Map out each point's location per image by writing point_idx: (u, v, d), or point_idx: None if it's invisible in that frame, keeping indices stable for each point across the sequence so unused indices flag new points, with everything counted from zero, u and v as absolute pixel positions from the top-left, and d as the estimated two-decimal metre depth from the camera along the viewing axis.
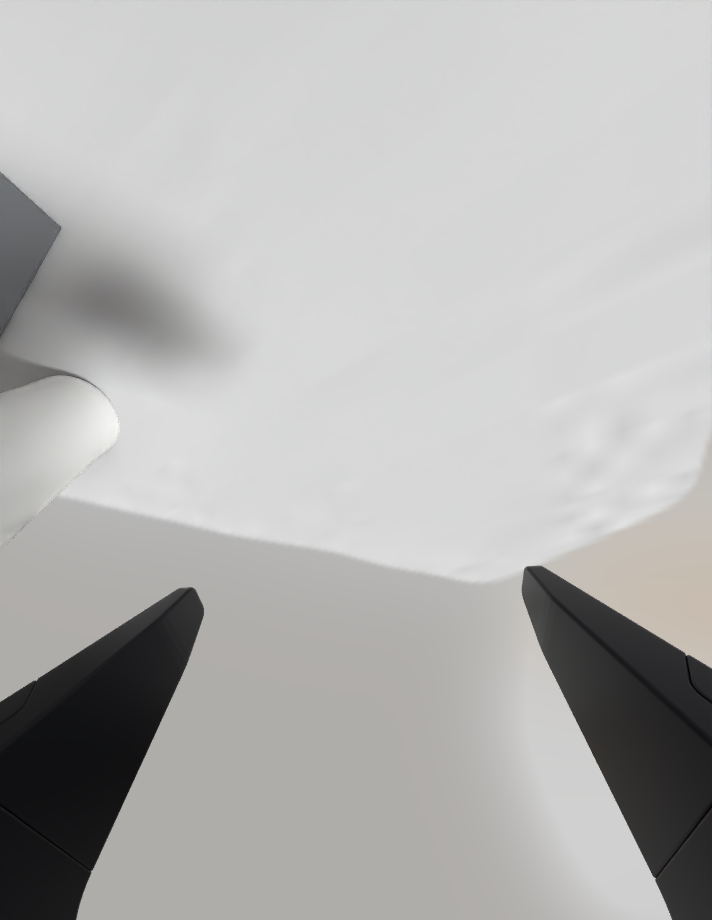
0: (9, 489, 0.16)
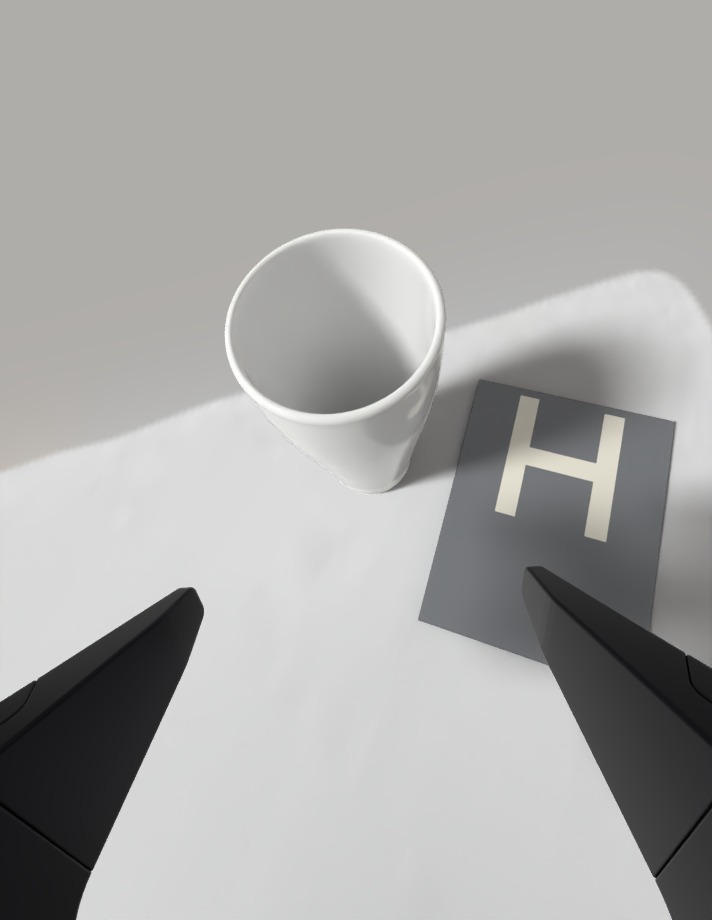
0: None
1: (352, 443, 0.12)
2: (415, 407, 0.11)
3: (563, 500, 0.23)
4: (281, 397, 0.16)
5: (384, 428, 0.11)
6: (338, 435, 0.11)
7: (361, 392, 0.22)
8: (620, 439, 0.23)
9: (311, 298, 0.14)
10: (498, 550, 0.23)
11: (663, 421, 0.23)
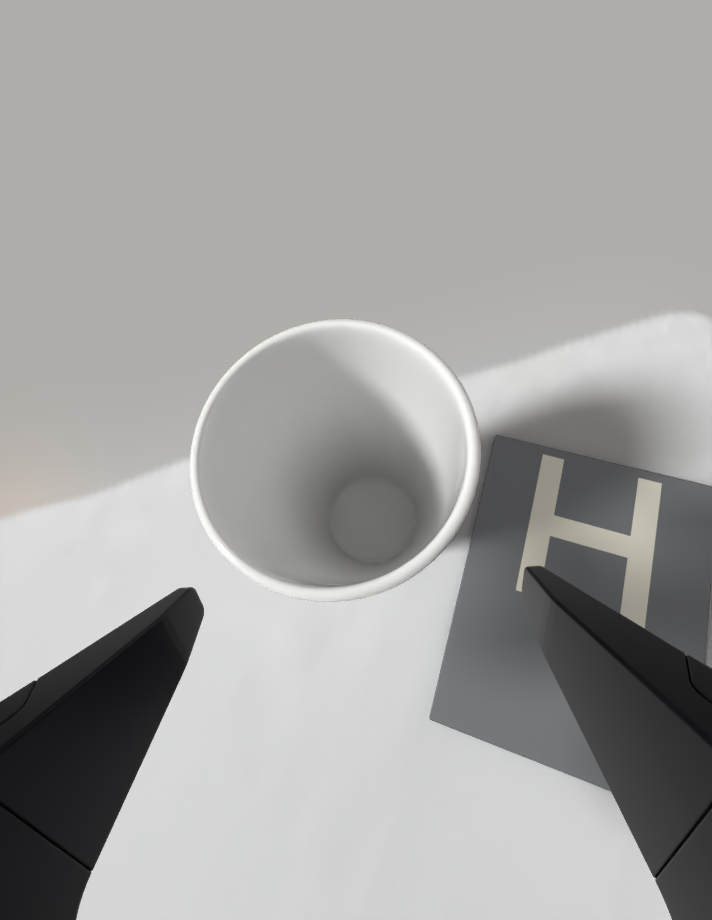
0: None
1: None
2: None
3: (594, 579, 0.20)
4: (270, 494, 0.13)
5: (398, 585, 0.09)
6: None
7: (364, 460, 0.19)
8: (657, 508, 0.21)
9: (305, 386, 0.12)
10: (520, 637, 0.20)
11: (705, 488, 0.21)
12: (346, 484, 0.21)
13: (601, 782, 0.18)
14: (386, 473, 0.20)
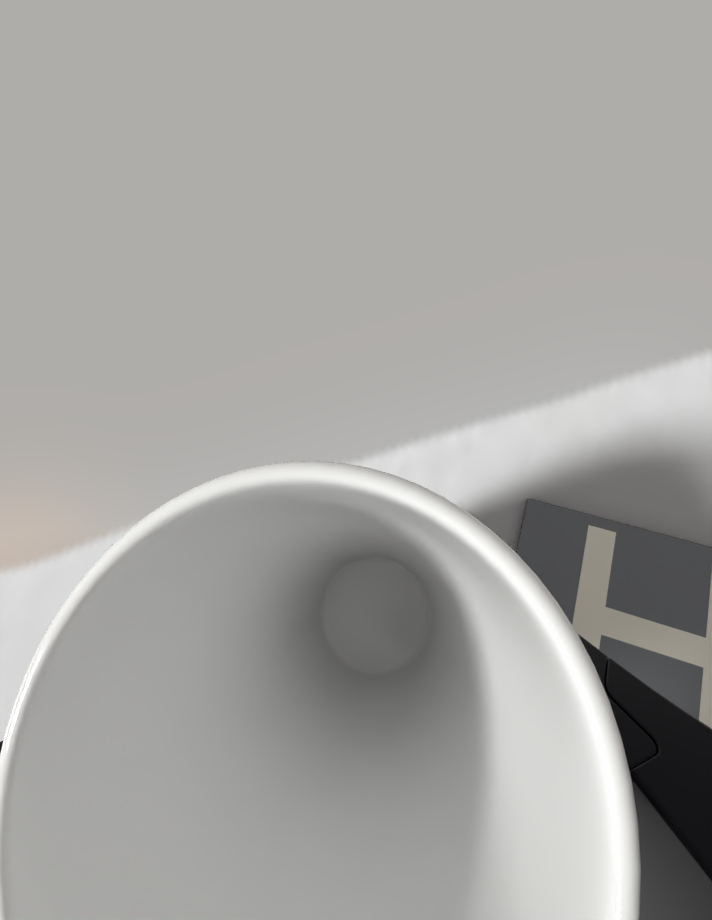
0: None
1: None
2: None
3: None
4: (219, 663, 0.09)
5: None
6: None
7: (364, 551, 0.14)
8: None
9: (267, 522, 0.07)
10: None
11: None
12: (341, 568, 0.17)
13: None
14: (392, 559, 0.16)
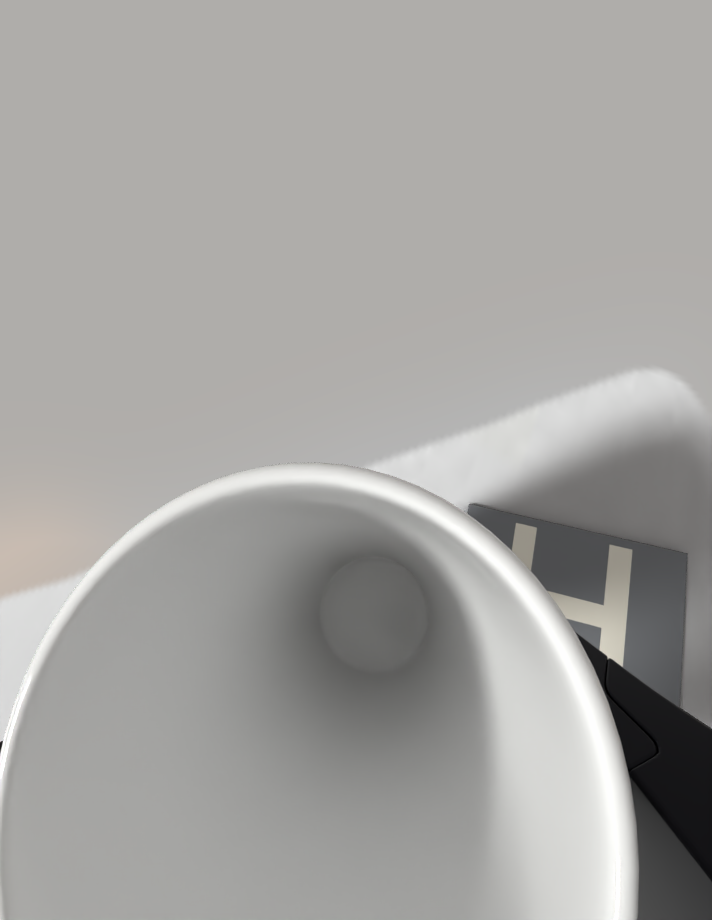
0: None
1: None
2: None
3: None
4: (219, 663, 0.09)
5: None
6: None
7: (364, 550, 0.14)
8: (628, 575, 0.21)
9: (266, 522, 0.07)
10: None
11: (674, 552, 0.21)
12: (340, 567, 0.17)
13: None
14: (391, 558, 0.16)
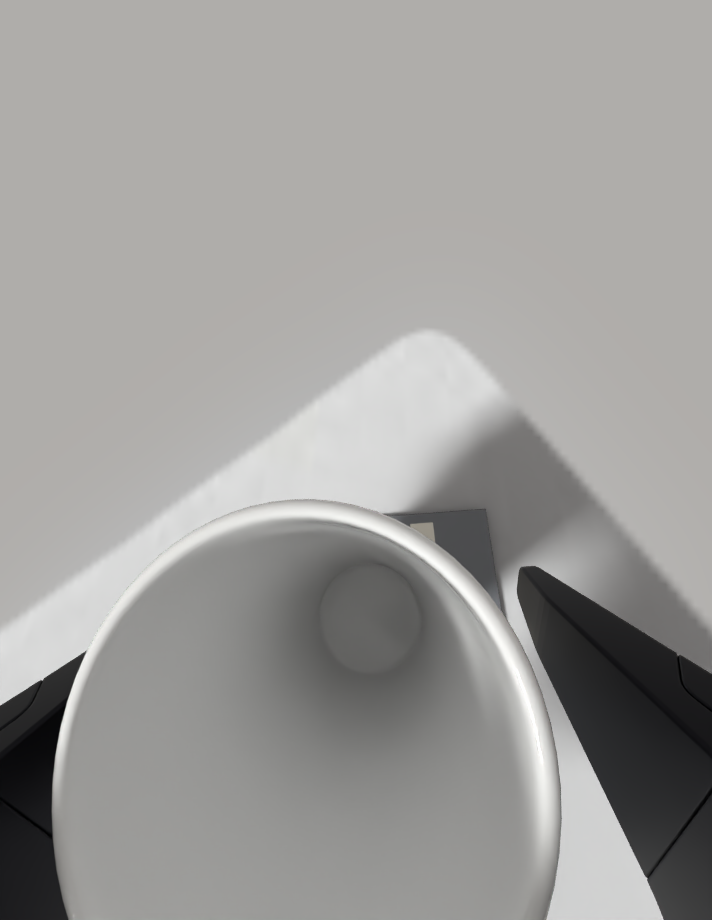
0: None
1: None
2: None
3: None
4: (228, 665, 0.10)
5: None
6: None
7: (359, 558, 0.15)
8: None
9: (269, 542, 0.08)
10: None
11: (473, 512, 0.20)
12: (337, 574, 0.18)
13: None
14: (386, 565, 0.17)
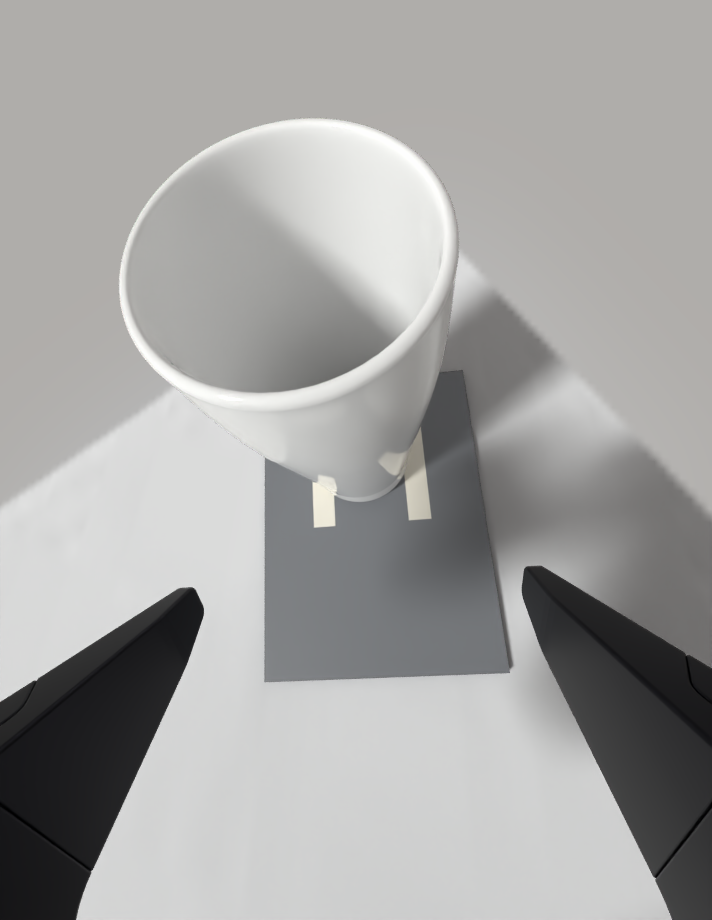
0: None
1: (318, 440, 0.08)
2: (412, 384, 0.08)
3: None
4: (235, 381, 0.12)
5: (365, 415, 0.07)
6: (293, 427, 0.07)
7: None
8: None
9: (267, 242, 0.10)
10: (328, 569, 0.20)
11: (451, 373, 0.22)
12: None
13: (428, 671, 0.18)
14: None
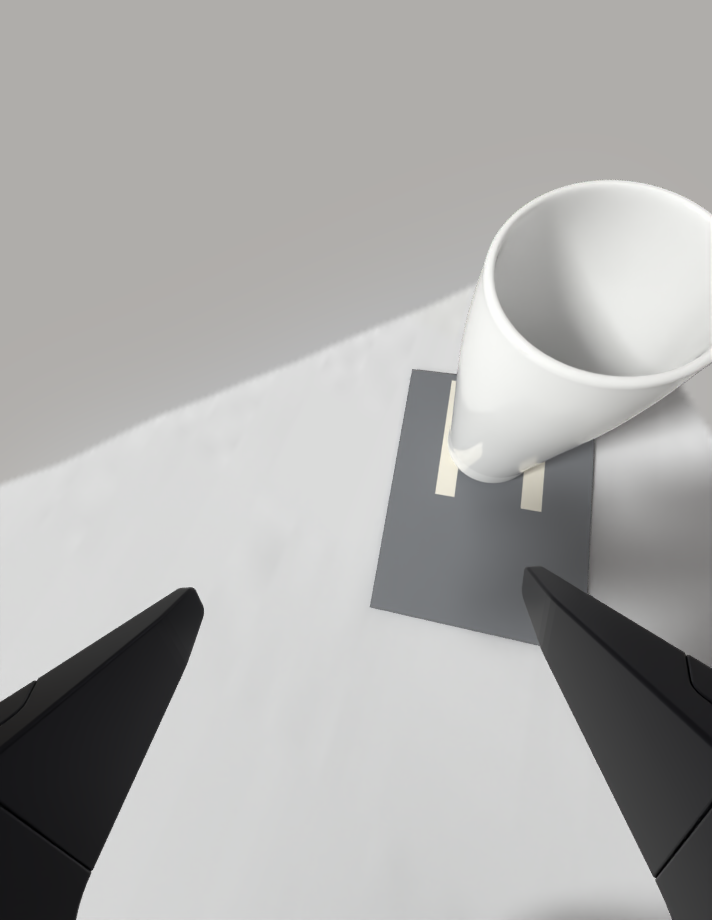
0: (464, 406, 0.16)
1: (586, 415, 0.11)
2: (670, 391, 0.10)
3: None
4: None
5: (634, 405, 0.10)
6: (587, 401, 0.10)
7: None
8: None
9: (541, 257, 0.13)
10: (441, 531, 0.23)
11: None
12: None
13: (512, 635, 0.21)
14: None
